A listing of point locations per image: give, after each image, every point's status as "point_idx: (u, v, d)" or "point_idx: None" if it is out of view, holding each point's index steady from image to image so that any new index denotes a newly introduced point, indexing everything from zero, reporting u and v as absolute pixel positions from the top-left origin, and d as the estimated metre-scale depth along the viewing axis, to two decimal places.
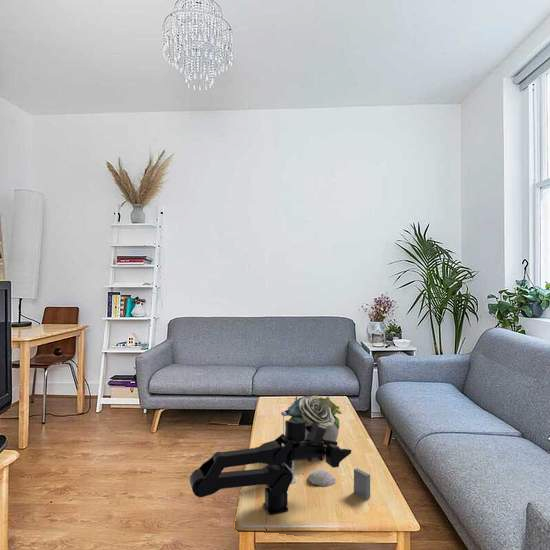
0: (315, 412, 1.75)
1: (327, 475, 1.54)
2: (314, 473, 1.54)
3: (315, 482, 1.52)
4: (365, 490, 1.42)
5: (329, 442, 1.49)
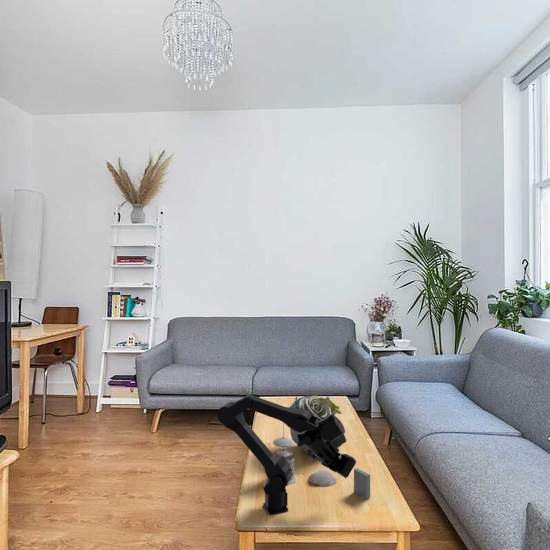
0: (315, 412, 1.75)
1: (328, 475, 1.54)
2: (315, 473, 1.54)
3: (316, 482, 1.52)
4: (365, 490, 1.42)
5: None
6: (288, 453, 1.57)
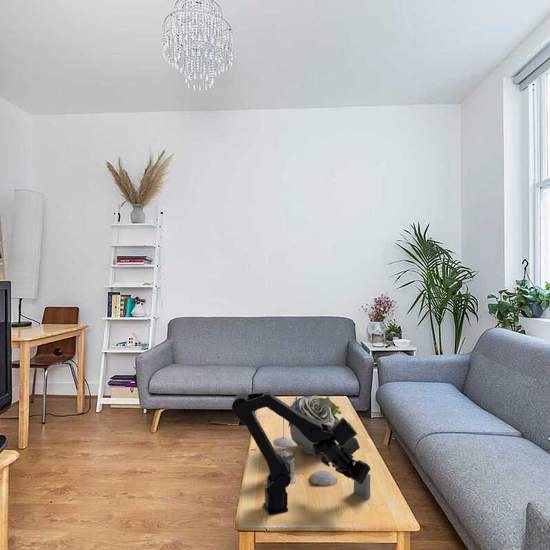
0: (315, 412, 1.75)
1: (329, 475, 1.54)
2: (316, 473, 1.54)
3: (317, 482, 1.52)
4: (365, 490, 1.42)
5: None
6: (288, 453, 1.57)
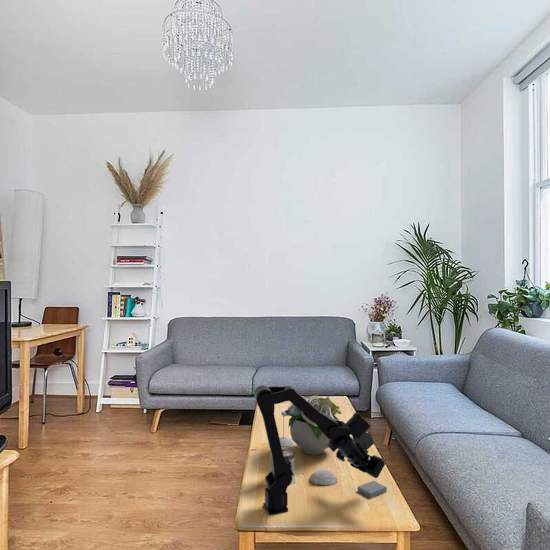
0: None
1: (329, 474, 1.55)
2: (316, 473, 1.55)
3: (317, 482, 1.52)
4: (375, 490, 1.45)
5: None
6: (288, 453, 1.57)
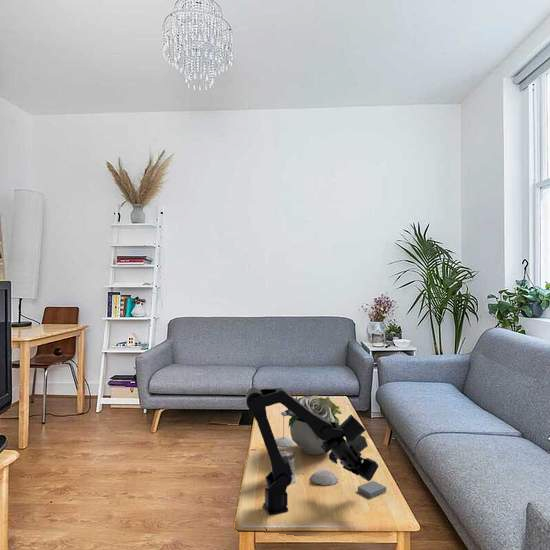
0: (315, 412, 1.75)
1: (330, 474, 1.55)
2: (317, 473, 1.55)
3: (318, 481, 1.52)
4: (375, 490, 1.45)
5: None
6: (288, 453, 1.57)
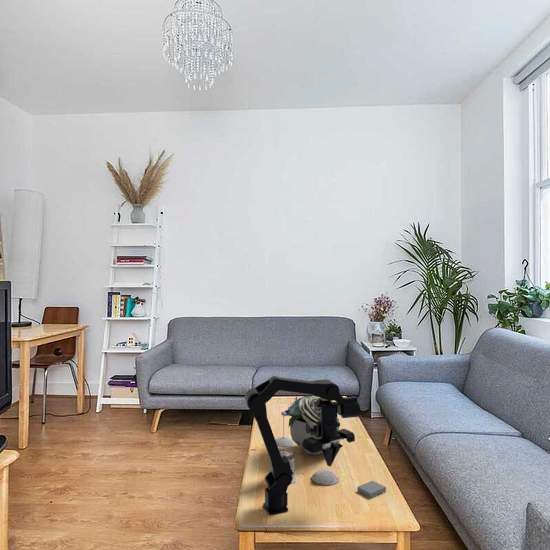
0: (315, 412, 1.75)
1: (331, 474, 1.55)
2: (318, 472, 1.55)
3: (319, 481, 1.53)
4: (375, 490, 1.45)
5: None
6: (288, 453, 1.57)
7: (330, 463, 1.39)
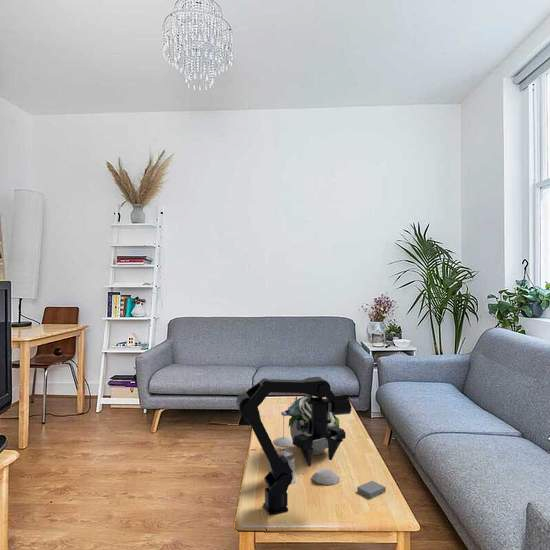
0: None
1: (332, 474, 1.55)
2: (319, 472, 1.55)
3: (320, 481, 1.53)
4: (375, 490, 1.45)
5: None
6: (288, 453, 1.57)
7: (310, 463, 1.37)
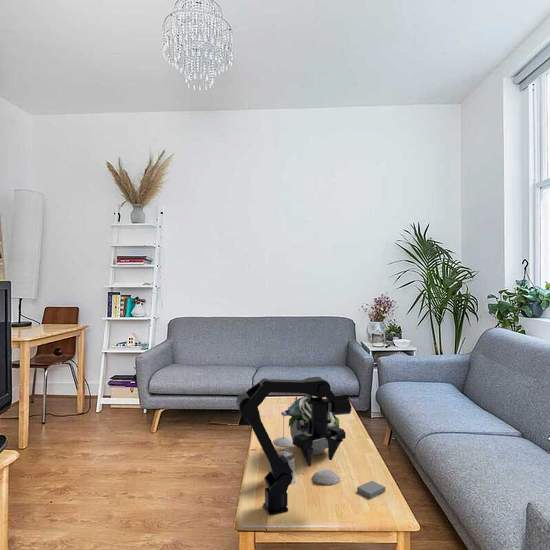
0: None
1: (332, 474, 1.55)
2: (319, 472, 1.55)
3: (320, 481, 1.53)
4: (375, 490, 1.45)
5: None
6: (288, 453, 1.57)
7: (310, 463, 1.37)
